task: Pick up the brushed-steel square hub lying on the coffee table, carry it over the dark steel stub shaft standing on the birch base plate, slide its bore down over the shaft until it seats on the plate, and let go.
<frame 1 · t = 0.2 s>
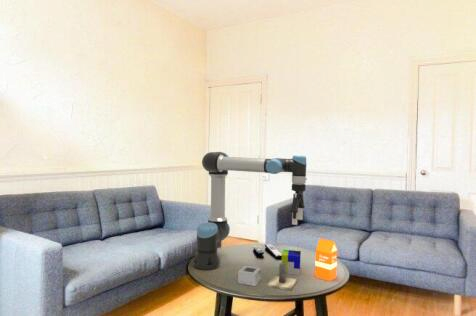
hand: (297, 222, 185), 28 cm above the table, fingers open, 13 cm apart
hub: (249, 281, 170), on the table
orange juice: (325, 277, 179), on the table
shaft block: (282, 283, 168), on the table
puzzle toy: (290, 271, 187), on the table
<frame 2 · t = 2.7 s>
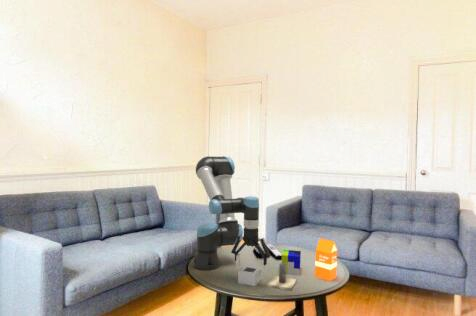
hand: (250, 269, 170), 6 cm above the table, fingers open, 13 cm apart
nothing on the table moved.
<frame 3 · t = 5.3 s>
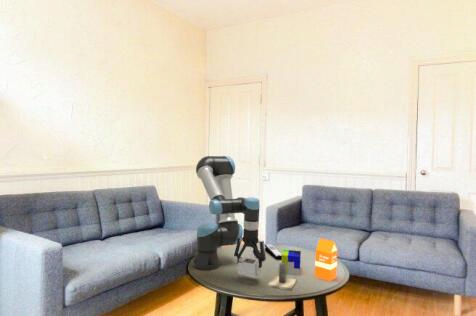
hand: (249, 271, 171), 5 cm above the table, fingers closed on hub, 9 cm apart
hub: (249, 272, 171), point 4 cm above the table, touching gripper
everything else where it was.
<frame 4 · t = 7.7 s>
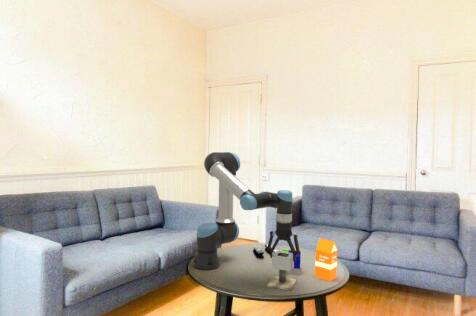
hand: (282, 266, 168), 9 cm above the table, fingers closed on hub, 9 cm apart
hub: (282, 266, 168), point 9 cm above the table, touching gripper
everything else where it was.
when the fingers open (1 cm above the table, at t = 10.2 s): hub stays where it is, resting on shaft block.
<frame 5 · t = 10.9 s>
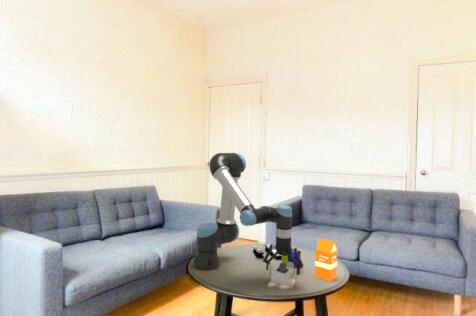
hand: (282, 278, 168), 3 cm above the table, fingers open, 13 cm apart
hub: (282, 281, 168), point 1 cm above the table, touching shaft block
everything else where it was.
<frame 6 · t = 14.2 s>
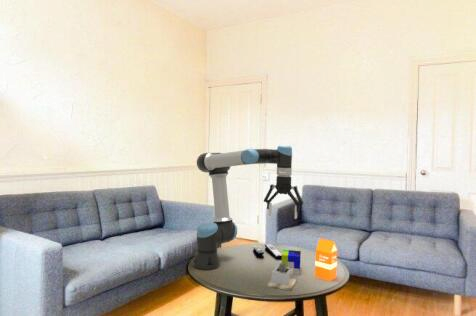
hand: (282, 217, 172), 33 cm above the table, fingers open, 13 cm apart
nothing on the table moved.
at the end: hub 0.1 cm off-centre on the shaft block, point 1.2 cm above the shaft block's base; hub tilted 0°; the gripper is holding nothing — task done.
